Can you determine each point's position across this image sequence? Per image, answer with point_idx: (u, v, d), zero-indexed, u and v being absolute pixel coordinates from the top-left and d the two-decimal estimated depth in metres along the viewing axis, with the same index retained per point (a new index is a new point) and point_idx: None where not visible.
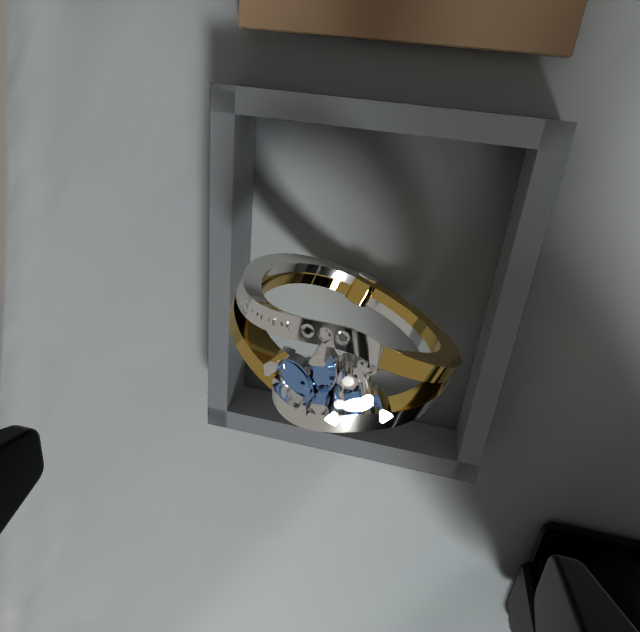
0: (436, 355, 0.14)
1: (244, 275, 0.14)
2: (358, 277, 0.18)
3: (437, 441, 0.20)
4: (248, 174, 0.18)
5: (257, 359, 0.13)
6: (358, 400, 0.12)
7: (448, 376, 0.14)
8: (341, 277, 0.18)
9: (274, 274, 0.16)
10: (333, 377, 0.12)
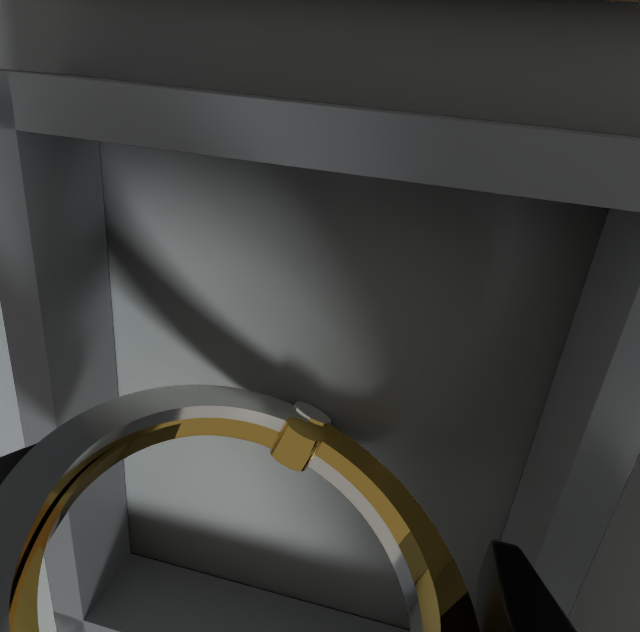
0: None
1: None
2: (291, 422, 0.10)
3: None
4: (88, 236, 0.10)
5: None
6: None
7: None
8: (261, 421, 0.10)
9: (114, 443, 0.08)
10: None
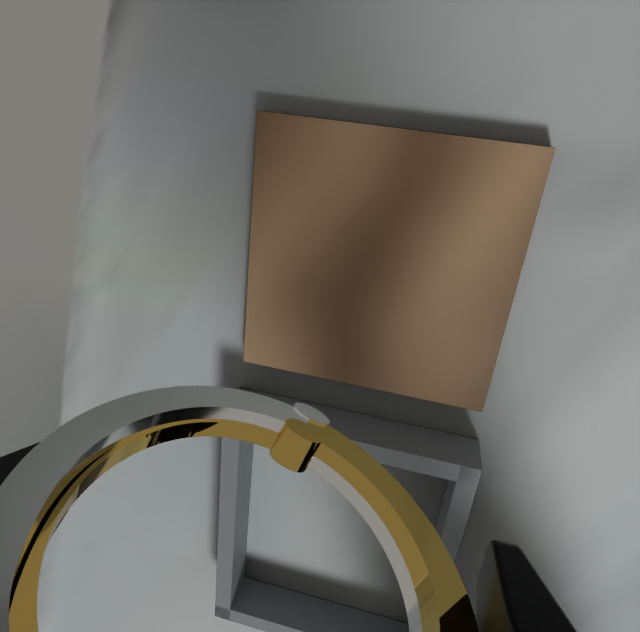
0: None
1: None
2: (290, 423, 0.10)
3: None
4: (249, 448, 0.23)
5: None
6: None
7: None
8: (261, 422, 0.10)
9: (113, 444, 0.08)
10: None
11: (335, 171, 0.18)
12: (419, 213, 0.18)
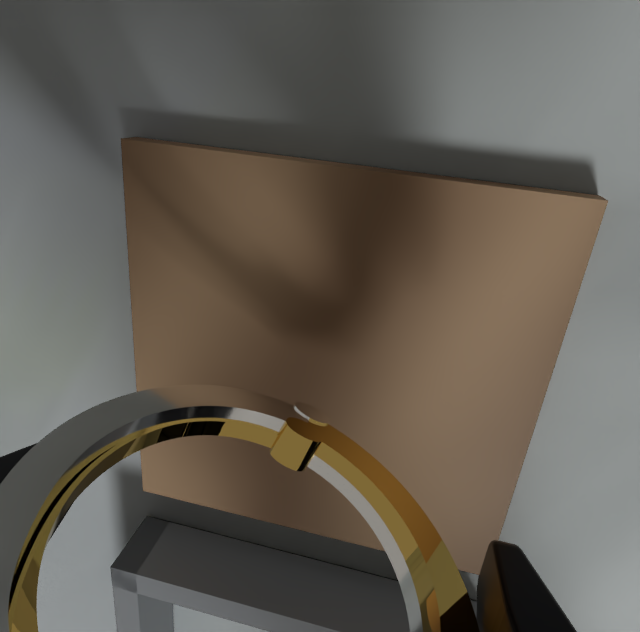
0: None
1: None
2: (291, 422, 0.10)
3: None
4: None
5: None
6: None
7: None
8: (261, 421, 0.10)
9: (113, 443, 0.08)
10: None
11: (249, 233, 0.11)
12: (384, 299, 0.11)
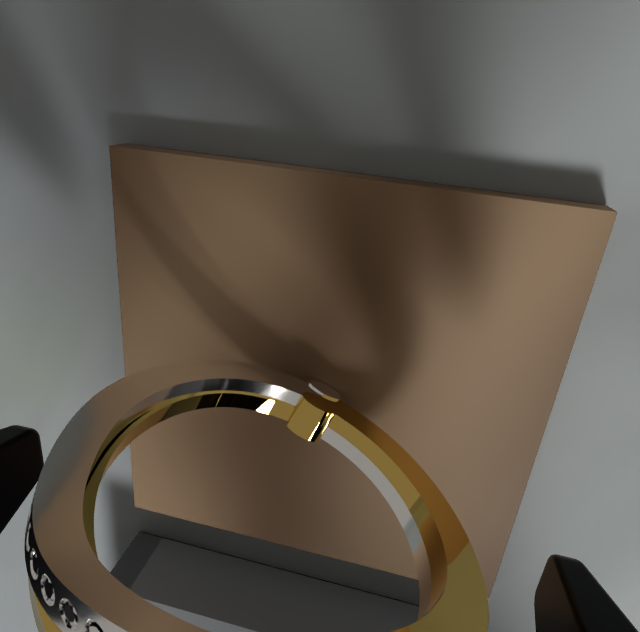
0: (441, 618, 0.07)
1: (59, 440, 0.07)
2: (307, 396, 0.11)
3: None
4: None
5: None
6: None
7: None
8: (279, 395, 0.11)
9: (151, 406, 0.09)
10: None
11: (243, 243, 0.11)
12: (382, 312, 0.11)
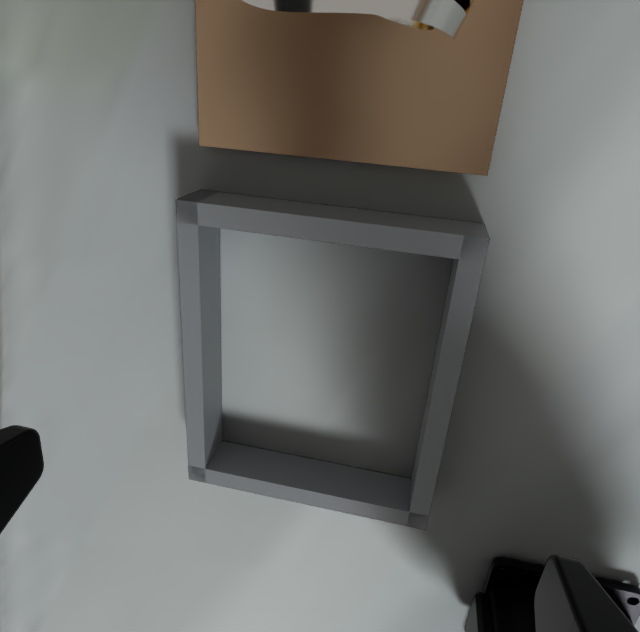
0: None
1: None
2: None
3: (393, 491, 0.22)
4: (214, 266, 0.20)
5: None
6: None
7: None
8: None
9: None
10: None
11: None
12: None
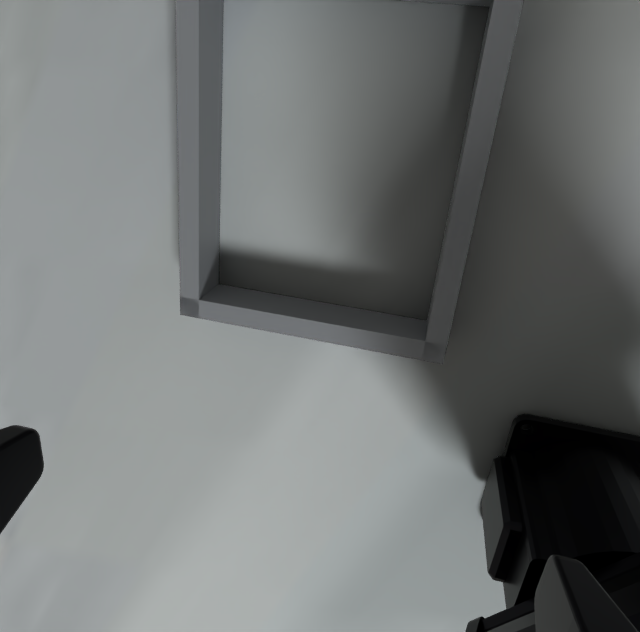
0: None
1: None
2: None
3: (407, 327, 0.20)
4: (216, 50, 0.18)
5: None
6: None
7: None
8: None
9: None
10: None
11: None
12: None
